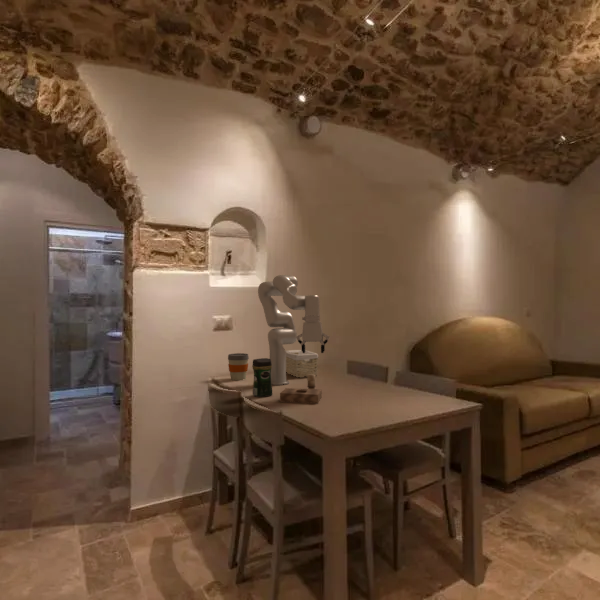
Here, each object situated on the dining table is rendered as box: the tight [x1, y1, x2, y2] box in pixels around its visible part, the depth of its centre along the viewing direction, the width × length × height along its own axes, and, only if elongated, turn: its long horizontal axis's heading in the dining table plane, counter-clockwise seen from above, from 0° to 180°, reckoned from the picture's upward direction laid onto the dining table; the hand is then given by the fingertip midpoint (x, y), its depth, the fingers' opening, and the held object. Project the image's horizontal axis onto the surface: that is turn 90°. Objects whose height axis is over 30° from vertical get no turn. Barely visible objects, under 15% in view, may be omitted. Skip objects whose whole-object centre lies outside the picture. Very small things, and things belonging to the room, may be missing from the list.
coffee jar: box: [251, 357, 273, 398], centre depth 216 cm, size 10×8×19 cm
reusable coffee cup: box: [227, 352, 250, 381], centre depth 262 cm, size 13×13×15 cm
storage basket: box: [285, 349, 319, 378], centre depth 278 cm, size 24×16×15 cm
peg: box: [307, 374, 316, 389], centre depth 217 cm, size 4×4×10 cm
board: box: [279, 387, 323, 404], centre depth 206 cm, size 18×12×4 cm, turn 79°
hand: (313, 352), depth 220 cm, fingers open, 9 cm apart
